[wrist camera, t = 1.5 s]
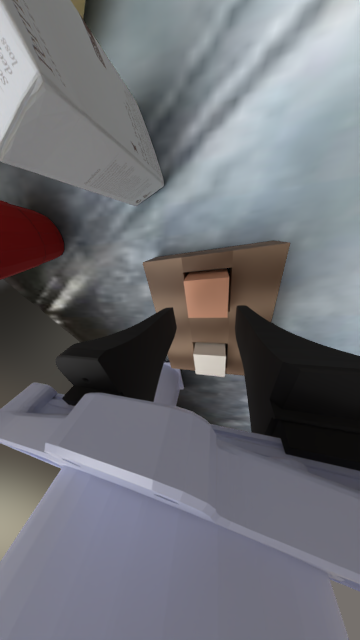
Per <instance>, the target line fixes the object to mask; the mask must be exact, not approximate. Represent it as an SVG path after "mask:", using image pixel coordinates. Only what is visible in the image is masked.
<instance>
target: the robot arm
mask: <svg viewBox="0 0 360 640" xmlns="http://www.w3.org/2000/svg"><path fill="white" fill-rule="evenodd" d="M176 329H177V325H176V320H175V315H174V310H173V307H171V308H164V309H162V310H161V311H159V312H157V313H156V314H154V315H152V316H151V317H149V318H147V319H146V320H144V321H142V322H140V323H138V324H136V325H134V326H132V327H130V328H128V329H125V330H123V331H120V332H117V333H115V334H112V335H109V336H105V337H102V338H98V339H94V340H90V341H86V342H81V343H77V344H74V345H72V346H70V347H69V348H68V349H67V350H65V351H64V352H63V353H62V354H60V355H59V356H58V357H57V358H56V365H57V367H58V369H59V370H60V371H61V372H62V373H63V375H64V376H65V377H66V378H67V379H68V380H69V381H70V382H71V383H72V384H73V385H74V386H73V387H72V388H71V389H70V390H69V391H68V392H67V393H66V394H65V395H64V394H59V393H57V392H56V391H55V390H54V389H53V388H52V387H51V386H49V385H46V384H41V383H36V382H35V383H32V384H31V385H30V386H28V387H27V388H26V389H25V390H24V391H22V392H21V393H20V394H19V395H17V396H16V397H15V398H14V399H12V400H11V401H10V402H9V403H8V404H7V405H5V406H4V407H3V408H1V409H0V443H2V444H4V445H7V446H9V447H11V448H13V449H15V450H18V451H20V452H23V453H25V454H28V455H30V456H32V457H35V458H37V459H40V460H42V461H44V462H47V463H49V464H52V465H54V466H56V467H59V468H61V470H60V472H59V473H58V475H57V476H56V478H55V479H54V481H53V482H52V484H51V486H50V487H49V489H48V490H47V492H46V493H45V495H44V496H43V498H42V499H41V501H40V502H39V504H38V505H37V507H36V508H35V510H34V511H33V513H32V514H31V516H30V517H29V519H28V520H27V522H26V523H25V525H24V527H23V528H22V530H21V531H20V533H19V534H18V536H17V537H16V539H15V540H14V542H13V543H12V545H11V546H10V548H9V549H8V551H7V552H6V554H5V556H4V557H3V559H2V560H1V562H0V640H349V638H348V635H347V632H346V629H345V626H344V623H343V619H342V616H341V614H340V610H339V607H338V604H337V601H336V598H335V595H334V592H333V589H332V586H331V583H330V580H333V581H335V582H338V583H340V584H343V585H345V586H348V587H350V588H352V589H355V590H358V591H360V356H357V355H354V354H350V353H346V352H343V351H339V350H336V349H333V348H330V347H327V346H324V345H321V344H318V343H315V342H312V341H310V340H307V339H305V338H302V337H300V336H297V335H295V334H292V333H290V332H288V331H286V330H284V329H282V328H280V327H278V326H276V325H274V324H273V323H271V322H269V321H268V320H266V319H264V318H263V317H261V316H260V315H259V314H257V313H256V312H254V311H253V310H252V309H250V308H249V307H248V306H246V305H238V306H237V307H236V319H235V335H236V341H237V345H238V349H239V352H240V356H241V360H242V364H243V369H244V375H245V382H246V389H247V396H248V405H249V413H250V422H251V431H252V432H247V431H242V430H237V429H232V428H227V427H222V426H217V425H212V424H209V423H208V421H207V420H205V419H204V418H202V417H200V416H199V415H197V414H196V413H194V412H192V411H189V410H186V409H183V408H180V407H176V403H177V399H178V395H179V391H180V389H184V385H183V380H182V376H181V371H180V369H174V368H171V365H170V362H164V361H165V359H166V356H167V354H168V351H169V349H170V347H171V344H172V342H173V340H174V337H175V333H176Z"/></svg>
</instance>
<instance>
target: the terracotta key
mask: <svg viewBox="0 0 360 640" xmlns="http://www.w3.org/2000/svg"><path fill="white" fill-rule="evenodd" d="M184 289H185V296H186V304H187V311H188V318H227V317H228V294H229V275H228V271H227V269H219V270H209V271H199V272H189V274H188V275H187V277H186V278H185V280H184Z"/></svg>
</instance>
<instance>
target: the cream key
mask: <svg viewBox="0 0 360 640" xmlns="http://www.w3.org/2000/svg"><path fill="white" fill-rule="evenodd" d="M193 356H194V364H195V371H196V374H201V375H211V376H220V377H225V363H226V352H225V343H202V342H196V343H195V348H194V353H193Z"/></svg>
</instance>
